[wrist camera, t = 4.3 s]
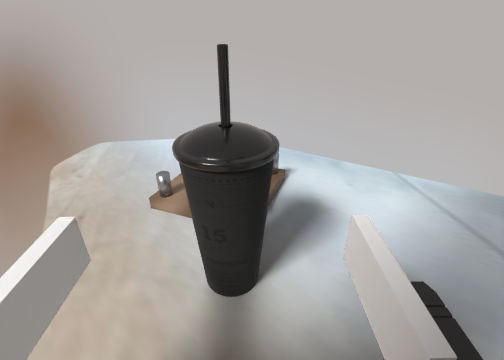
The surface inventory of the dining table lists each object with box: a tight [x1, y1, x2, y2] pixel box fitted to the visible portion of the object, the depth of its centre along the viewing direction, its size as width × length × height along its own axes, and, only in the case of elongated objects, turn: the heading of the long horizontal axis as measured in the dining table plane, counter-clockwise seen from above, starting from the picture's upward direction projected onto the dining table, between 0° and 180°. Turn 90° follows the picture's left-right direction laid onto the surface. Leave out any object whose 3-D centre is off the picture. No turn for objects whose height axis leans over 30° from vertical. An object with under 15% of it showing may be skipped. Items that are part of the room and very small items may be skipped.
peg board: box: [149, 153, 285, 218], centre depth 40 cm, size 14×14×4 cm
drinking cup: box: [172, 44, 279, 297], centre depth 22 cm, size 8×8×20 cm
